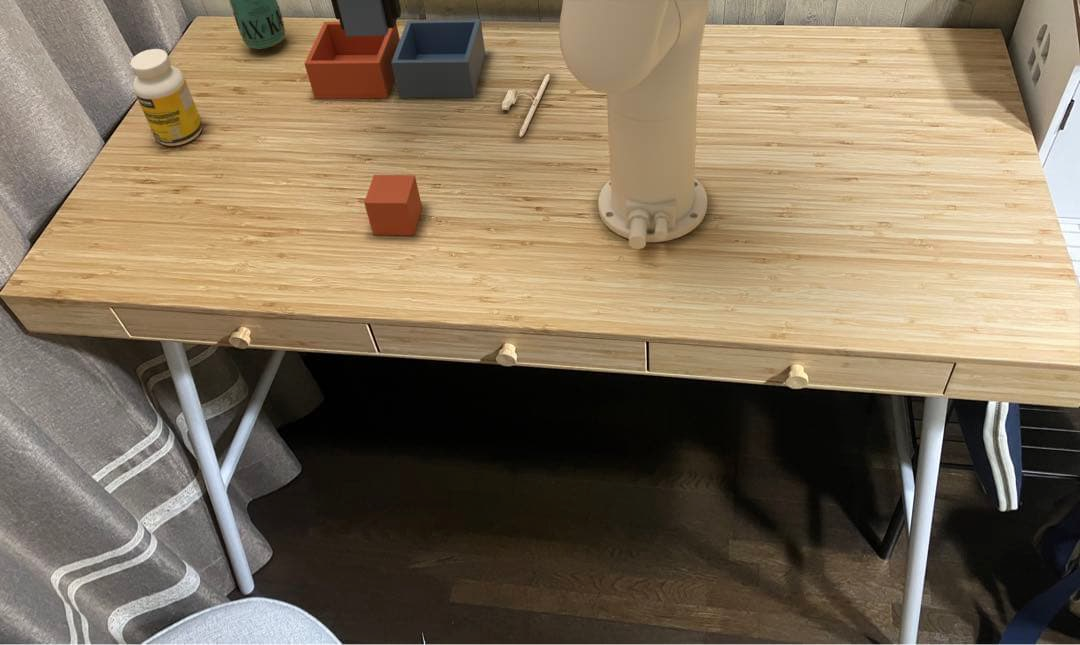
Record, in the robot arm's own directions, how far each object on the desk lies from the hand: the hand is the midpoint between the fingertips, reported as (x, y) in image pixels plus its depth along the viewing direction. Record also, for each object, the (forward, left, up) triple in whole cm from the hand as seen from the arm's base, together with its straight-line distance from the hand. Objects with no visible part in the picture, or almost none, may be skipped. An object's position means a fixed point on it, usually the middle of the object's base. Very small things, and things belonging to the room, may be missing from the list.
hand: (370, 21), depth 122 cm
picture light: (+4, -16, -16) cm, 23 cm away
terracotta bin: (+11, +8, -15) cm, 20 cm away
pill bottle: (-2, +30, -16) cm, 33 cm away
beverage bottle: (+19, +24, -16) cm, 34 cm away
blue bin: (+11, -4, -15) cm, 20 cm away
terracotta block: (-19, -4, -15) cm, 25 cm away
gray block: (0, 0, 0) cm, 0 cm away
